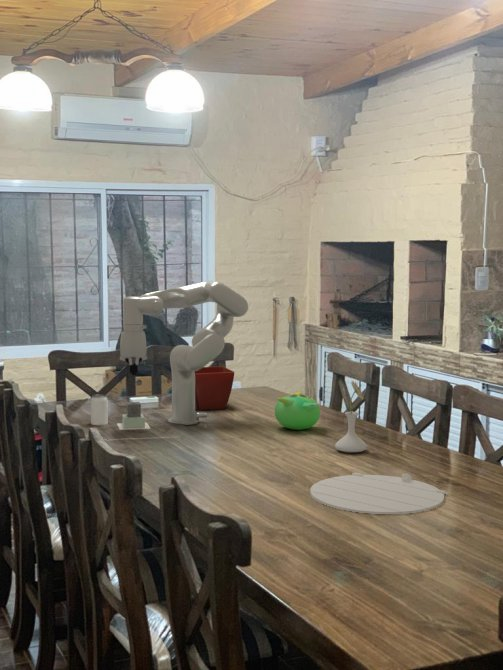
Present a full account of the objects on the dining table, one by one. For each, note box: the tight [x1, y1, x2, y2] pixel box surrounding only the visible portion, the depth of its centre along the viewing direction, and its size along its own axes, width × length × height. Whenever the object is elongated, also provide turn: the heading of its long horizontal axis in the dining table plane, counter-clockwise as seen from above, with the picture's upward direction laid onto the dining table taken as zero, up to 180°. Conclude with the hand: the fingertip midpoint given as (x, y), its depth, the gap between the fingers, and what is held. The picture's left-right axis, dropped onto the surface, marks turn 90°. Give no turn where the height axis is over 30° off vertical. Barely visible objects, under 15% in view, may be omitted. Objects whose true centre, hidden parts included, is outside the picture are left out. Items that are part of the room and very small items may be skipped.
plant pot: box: [194, 366, 235, 411], centre depth 401 cm, size 19×19×17 cm
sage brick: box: [121, 413, 146, 428], centre depth 356 cm, size 8×8×4 cm
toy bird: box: [274, 390, 321, 431], centre depth 357 cm, size 18×17×15 cm
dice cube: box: [126, 401, 142, 417], centre depth 356 cm, size 5×5×5 cm
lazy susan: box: [309, 472, 449, 515], centre depth 268 cm, size 40×39×3 cm
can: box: [90, 394, 109, 426], centre depth 360 cm, size 6×6×12 cm
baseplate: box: [116, 421, 152, 431], centre depth 357 cm, size 12×12×1 cm
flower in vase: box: [334, 380, 368, 453], centre depth 322 cm, size 13×11×25 cm
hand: (133, 374), depth 355 cm, fingers closed
